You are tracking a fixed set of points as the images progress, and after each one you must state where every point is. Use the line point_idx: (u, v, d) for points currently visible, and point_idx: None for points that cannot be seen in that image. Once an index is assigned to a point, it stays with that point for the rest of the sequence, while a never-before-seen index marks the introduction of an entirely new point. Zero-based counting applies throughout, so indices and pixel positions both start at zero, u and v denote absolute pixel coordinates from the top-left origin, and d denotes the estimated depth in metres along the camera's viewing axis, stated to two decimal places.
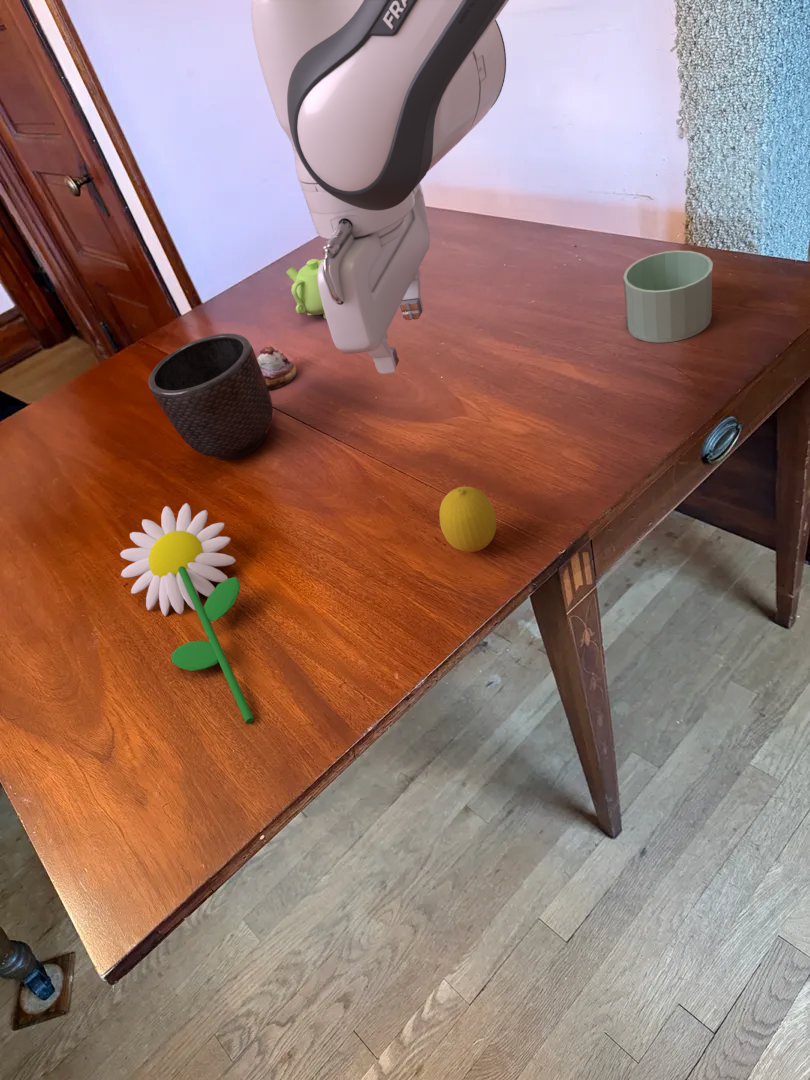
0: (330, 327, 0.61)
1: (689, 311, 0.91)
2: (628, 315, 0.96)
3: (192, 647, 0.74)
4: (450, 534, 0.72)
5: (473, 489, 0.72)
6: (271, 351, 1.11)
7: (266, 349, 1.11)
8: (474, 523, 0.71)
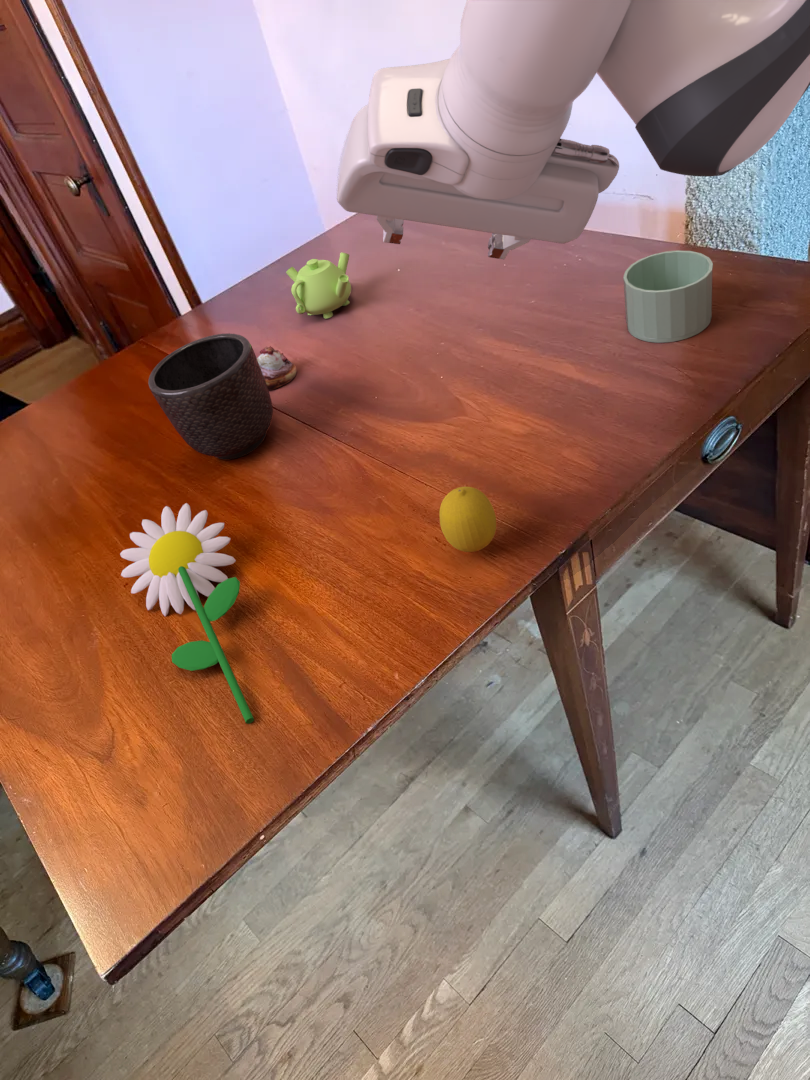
0: (586, 223, 0.60)
1: (689, 311, 0.91)
2: (628, 315, 0.96)
3: (192, 647, 0.74)
4: (450, 534, 0.72)
5: (473, 489, 0.72)
6: (271, 351, 1.11)
7: (266, 349, 1.11)
8: (474, 523, 0.71)
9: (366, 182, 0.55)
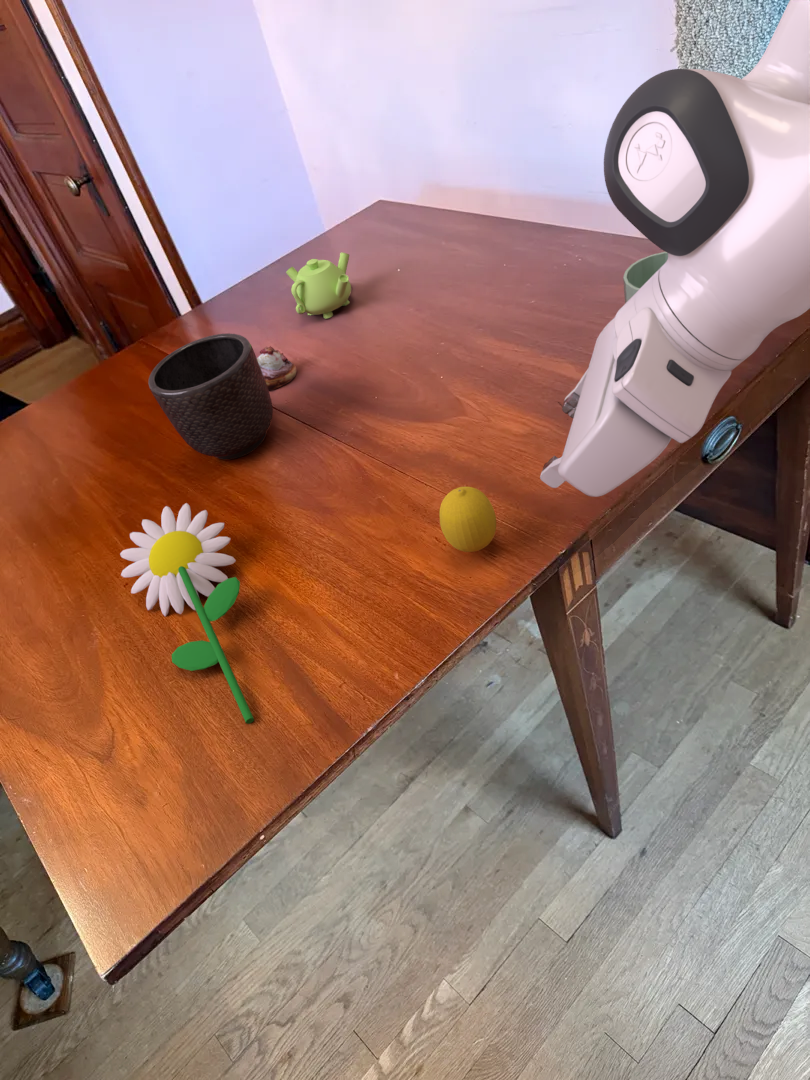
0: None
1: None
2: None
3: (192, 647, 0.74)
4: (450, 534, 0.72)
5: (473, 489, 0.72)
6: (271, 351, 1.11)
7: (266, 349, 1.11)
8: (474, 523, 0.71)
9: None
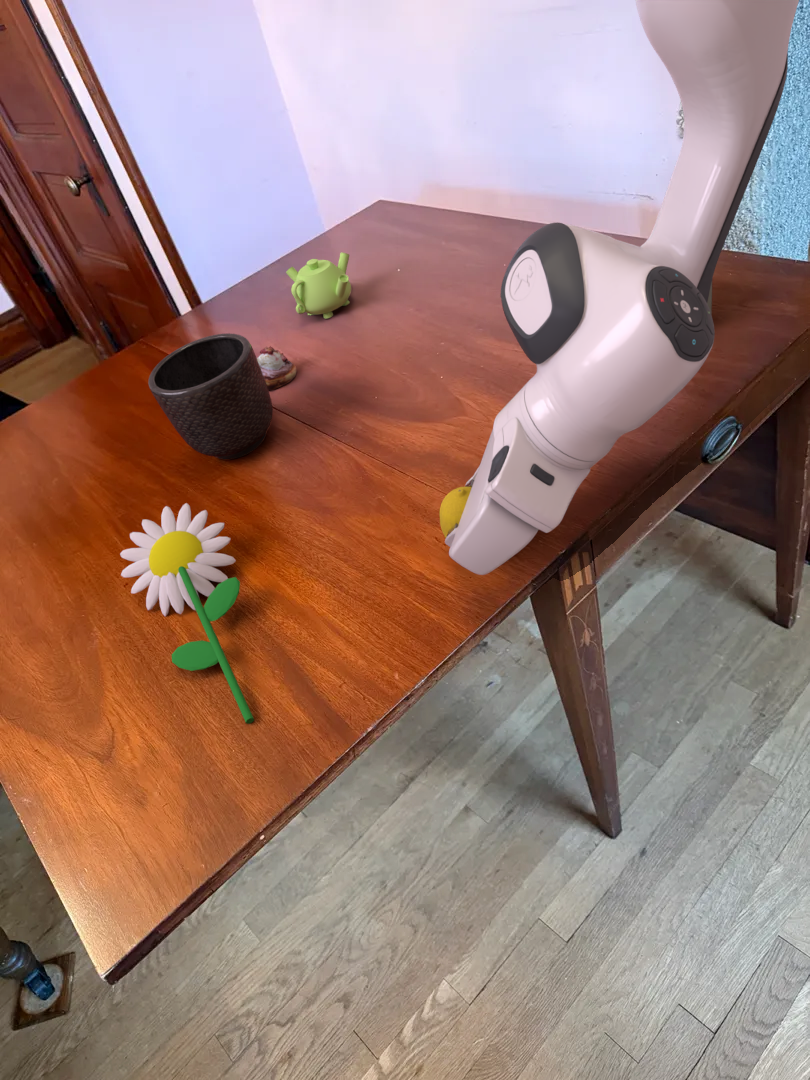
0: None
1: None
2: None
3: (192, 647, 0.74)
4: None
5: None
6: (271, 351, 1.11)
7: (266, 349, 1.11)
8: None
9: None
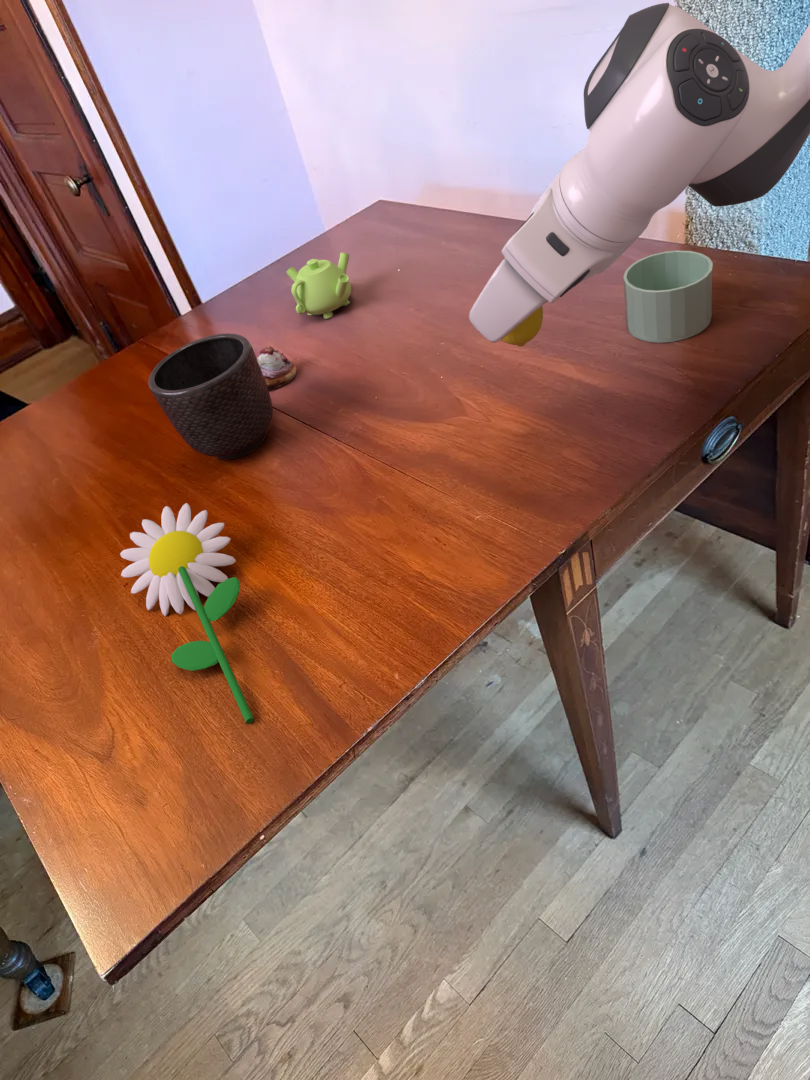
0: None
1: (689, 311, 0.91)
2: (628, 315, 0.96)
3: (192, 647, 0.74)
4: None
5: None
6: (271, 351, 1.11)
7: (266, 349, 1.11)
8: None
9: None
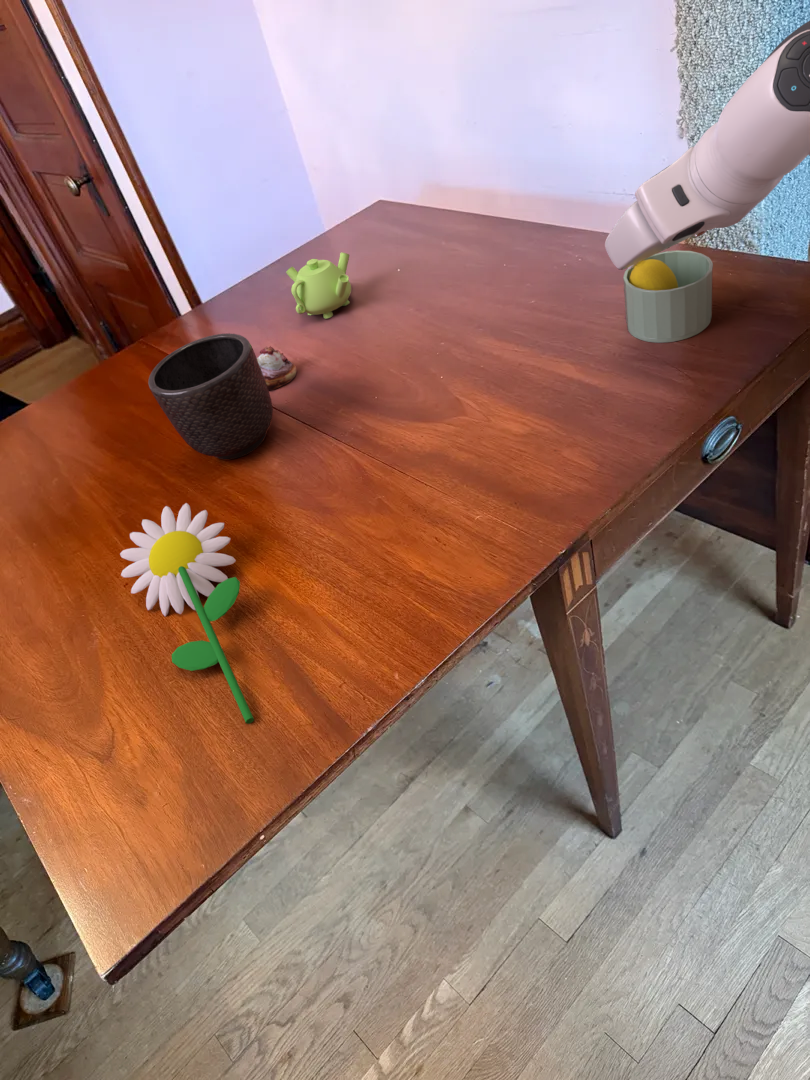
0: None
1: (689, 311, 0.91)
2: (628, 315, 0.96)
3: (192, 647, 0.74)
4: None
5: (653, 261, 0.92)
6: (271, 351, 1.11)
7: (266, 349, 1.11)
8: (642, 288, 0.93)
9: None
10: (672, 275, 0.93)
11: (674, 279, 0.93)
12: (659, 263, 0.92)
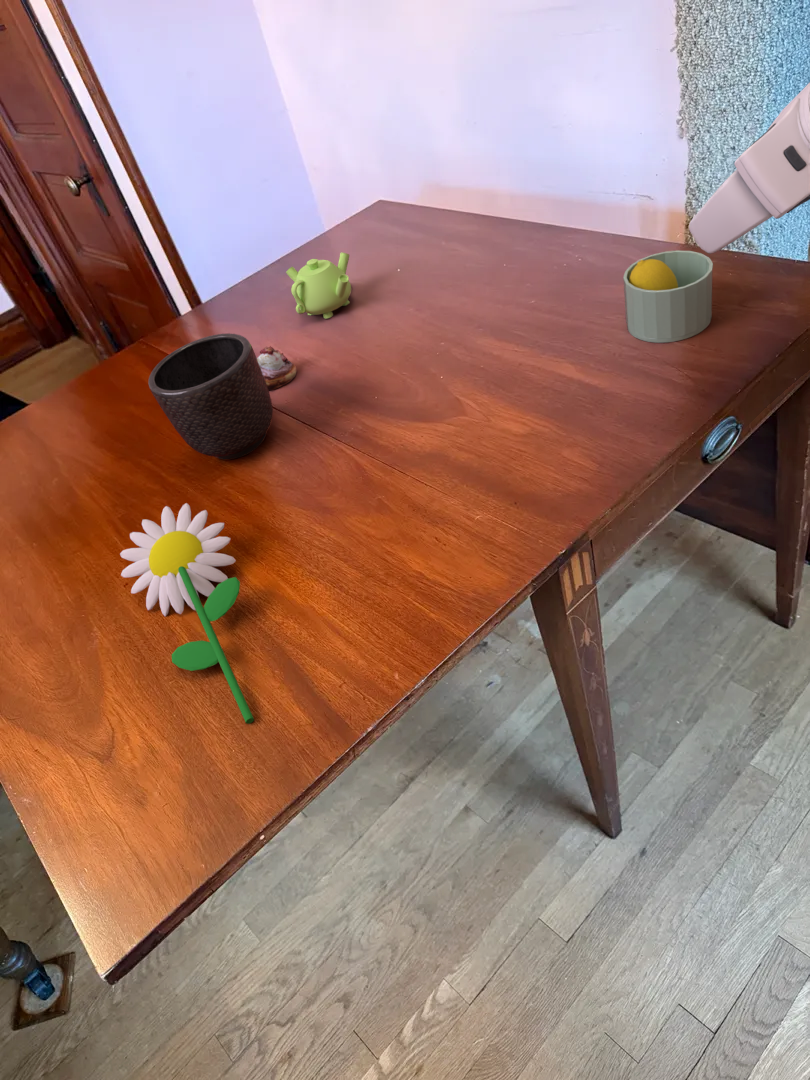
0: None
1: (689, 311, 0.91)
2: (628, 315, 0.96)
3: (192, 647, 0.74)
4: None
5: (653, 261, 0.92)
6: (271, 351, 1.11)
7: (266, 349, 1.11)
8: (642, 288, 0.93)
9: None
10: (672, 275, 0.93)
11: (674, 279, 0.93)
12: (659, 263, 0.92)
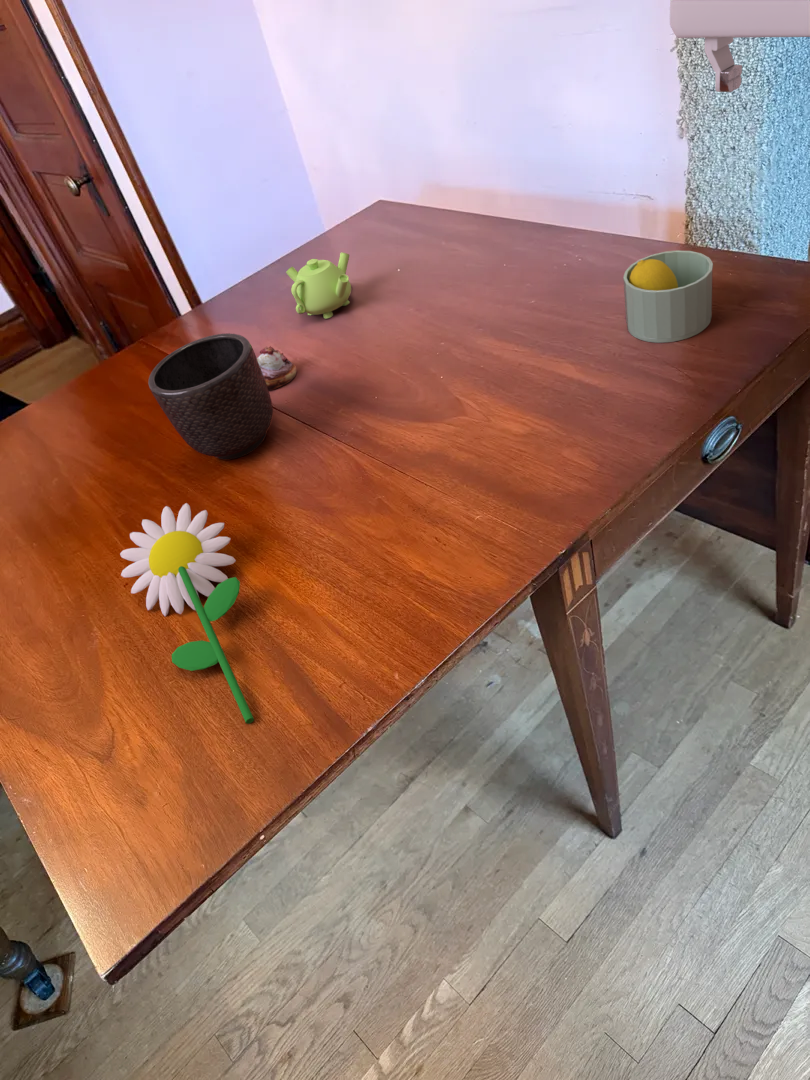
0: None
1: (689, 311, 0.91)
2: (628, 315, 0.96)
3: (192, 647, 0.74)
4: None
5: (653, 261, 0.92)
6: (271, 351, 1.11)
7: (266, 349, 1.11)
8: (642, 288, 0.93)
9: None
10: (672, 275, 0.93)
11: (674, 279, 0.93)
12: (659, 263, 0.92)
